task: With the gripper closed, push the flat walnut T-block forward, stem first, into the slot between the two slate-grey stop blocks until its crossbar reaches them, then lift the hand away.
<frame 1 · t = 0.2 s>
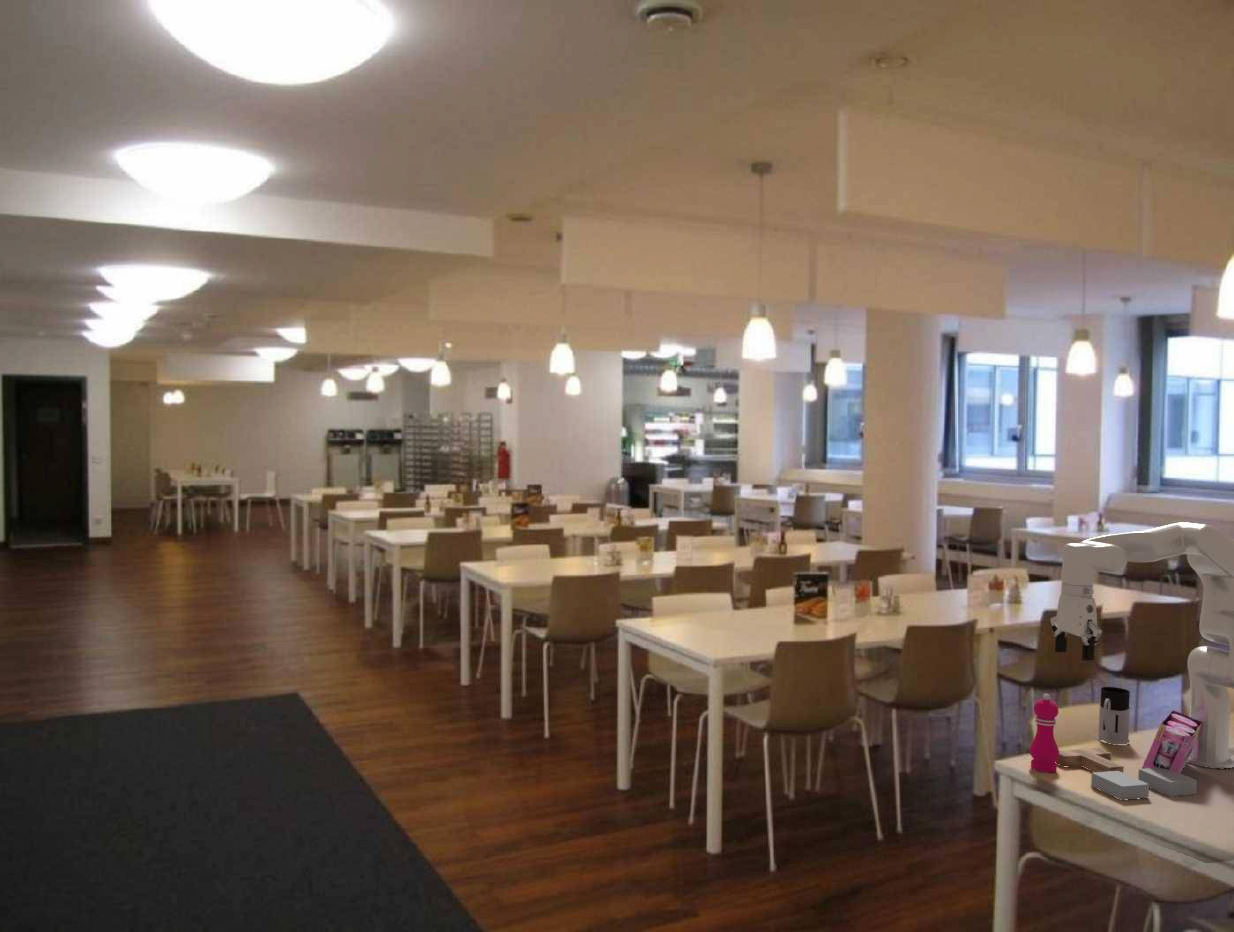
hand: (1073, 656, 258), 31 cm above the table, tool pointing down, fingers open, 9 cm apart
t block: (1087, 765, 264), on the table
white and black cylinder: (1110, 743, 285), on the table
gum box: (1163, 769, 262), on the table, touching arm, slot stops
pepper mill: (1043, 769, 260), on the table
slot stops: (1143, 790, 246), on the table
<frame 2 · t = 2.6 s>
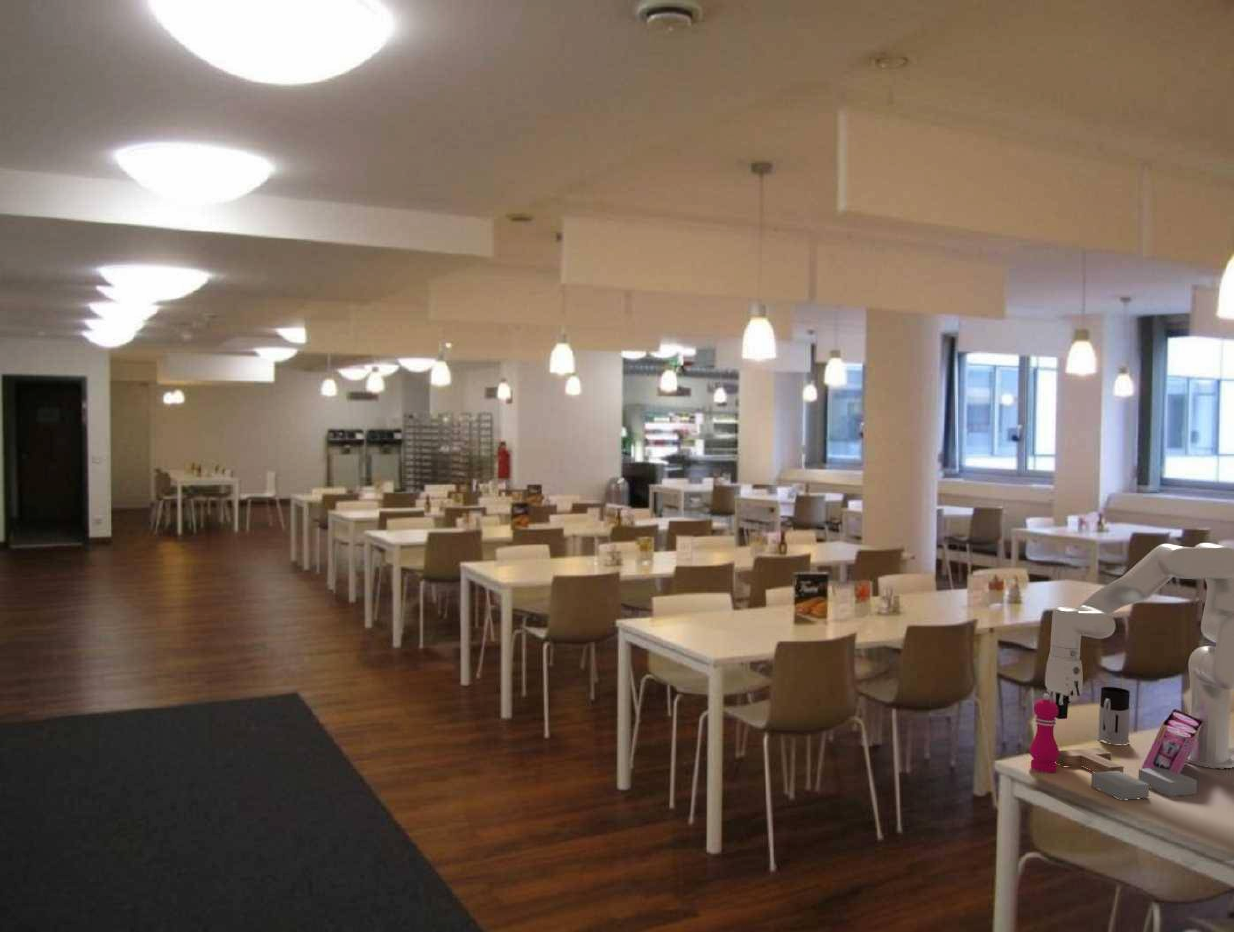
hand: (1060, 718, 273), 10 cm above the table, tool pointing down, fingers closed
nothing on the table moved.
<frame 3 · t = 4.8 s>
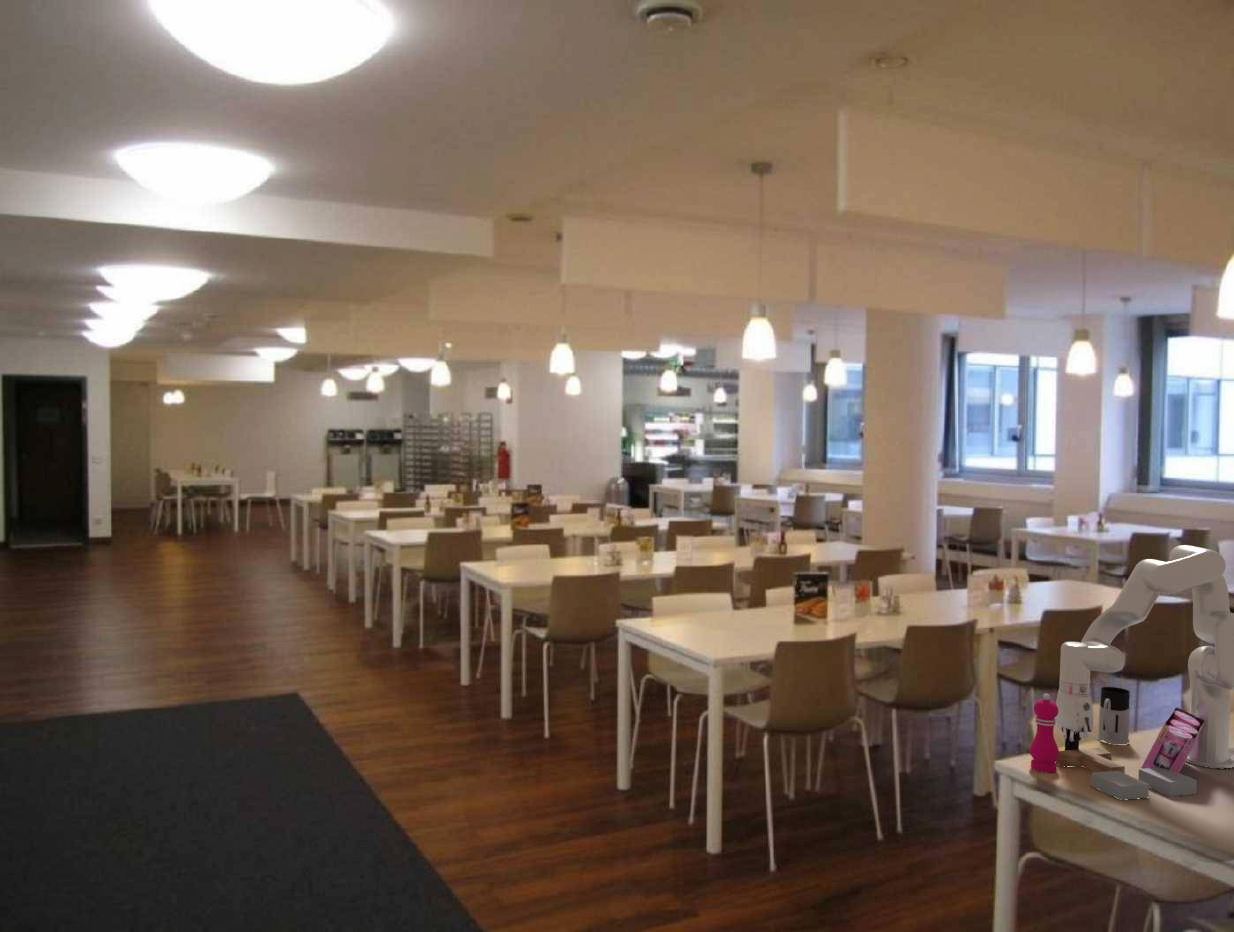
hand: (1071, 754, 270), 1 cm above the table, tool pointing down, fingers closed
t block: (1088, 766, 264), on the table, touching gripper
everything else where it was.
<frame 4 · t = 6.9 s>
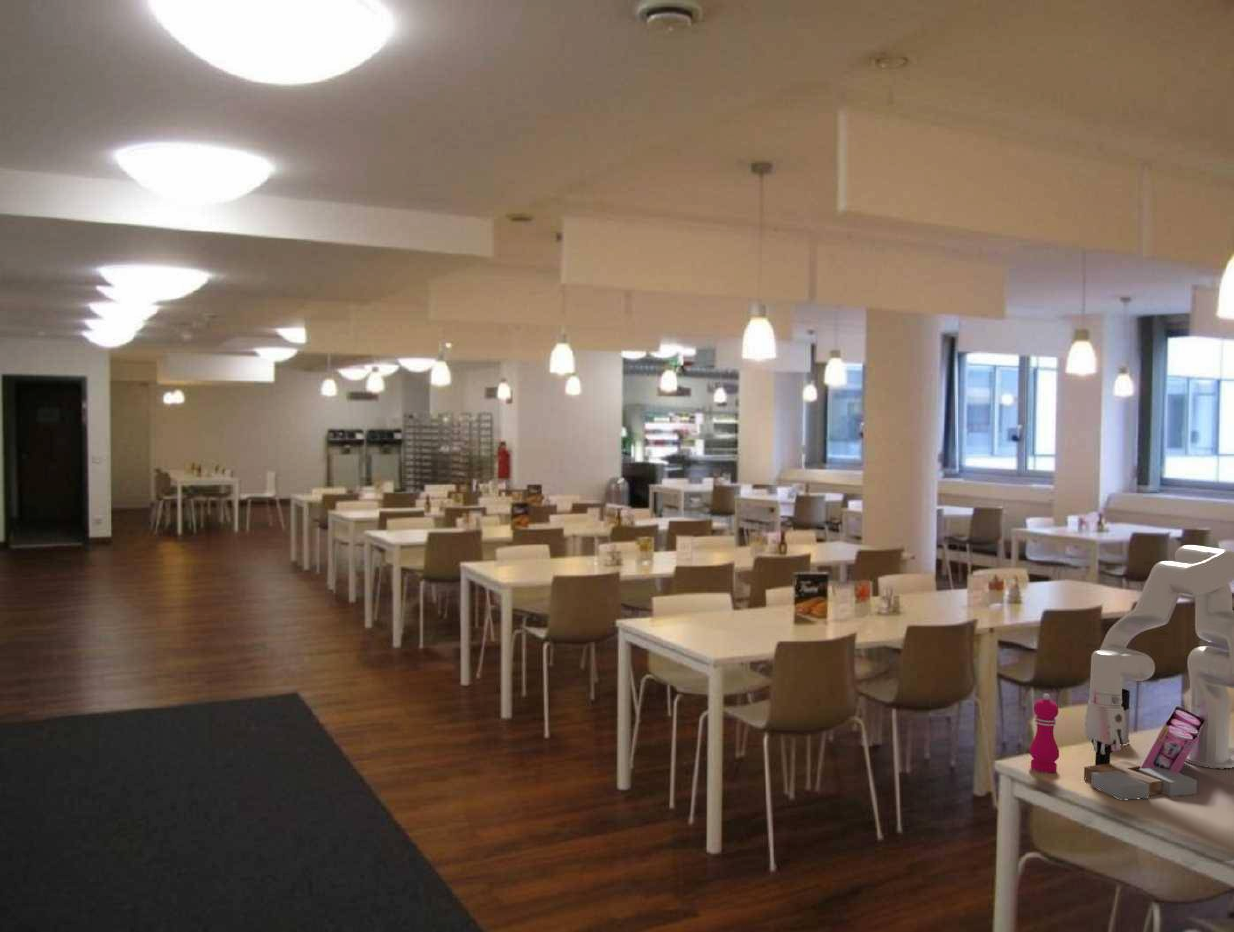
hand: (1102, 767, 259), 1 cm above the table, tool pointing down, fingers closed
t block: (1119, 780, 252), on the table, touching gripper
gum box: (1162, 766, 262), point 1 cm above the table, touching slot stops
everything else where it was.
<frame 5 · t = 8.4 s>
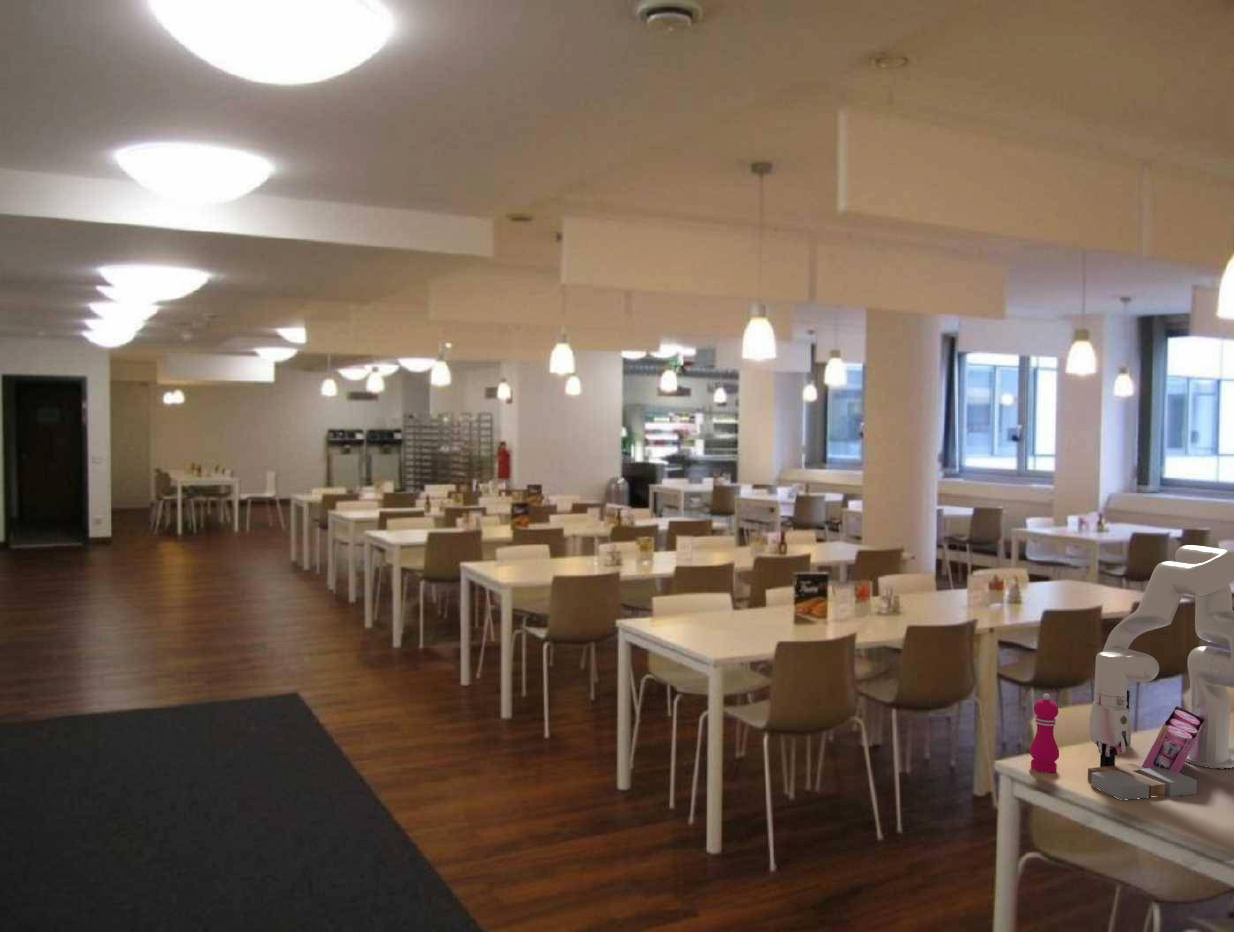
hand: (1107, 769, 257), 1 cm above the table, tool pointing down, fingers closed
t block: (1124, 783, 251), on the table
everything else where it was.
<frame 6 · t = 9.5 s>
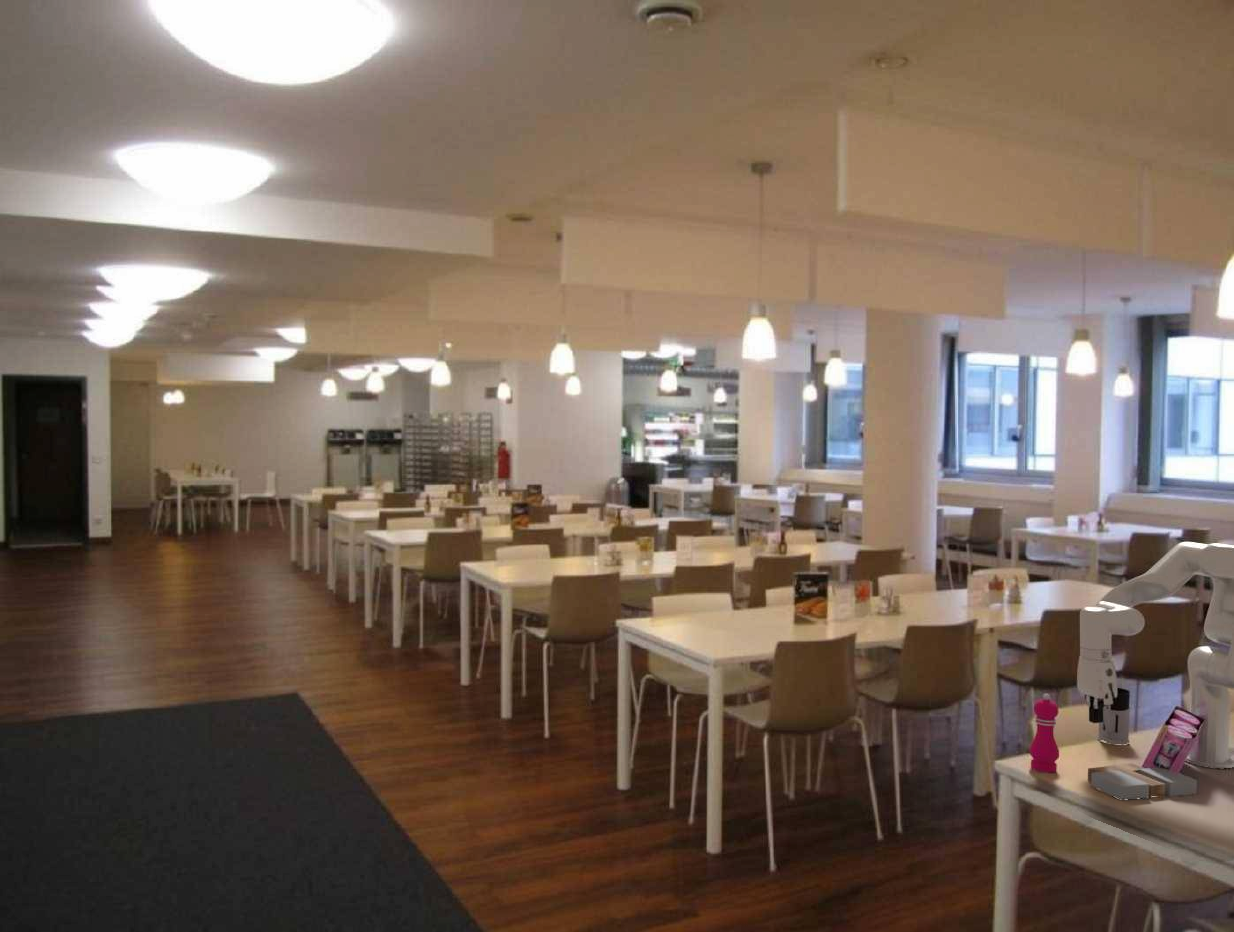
hand: (1096, 721, 263), 12 cm above the table, tool pointing down, fingers closed
nothing on the table moved.
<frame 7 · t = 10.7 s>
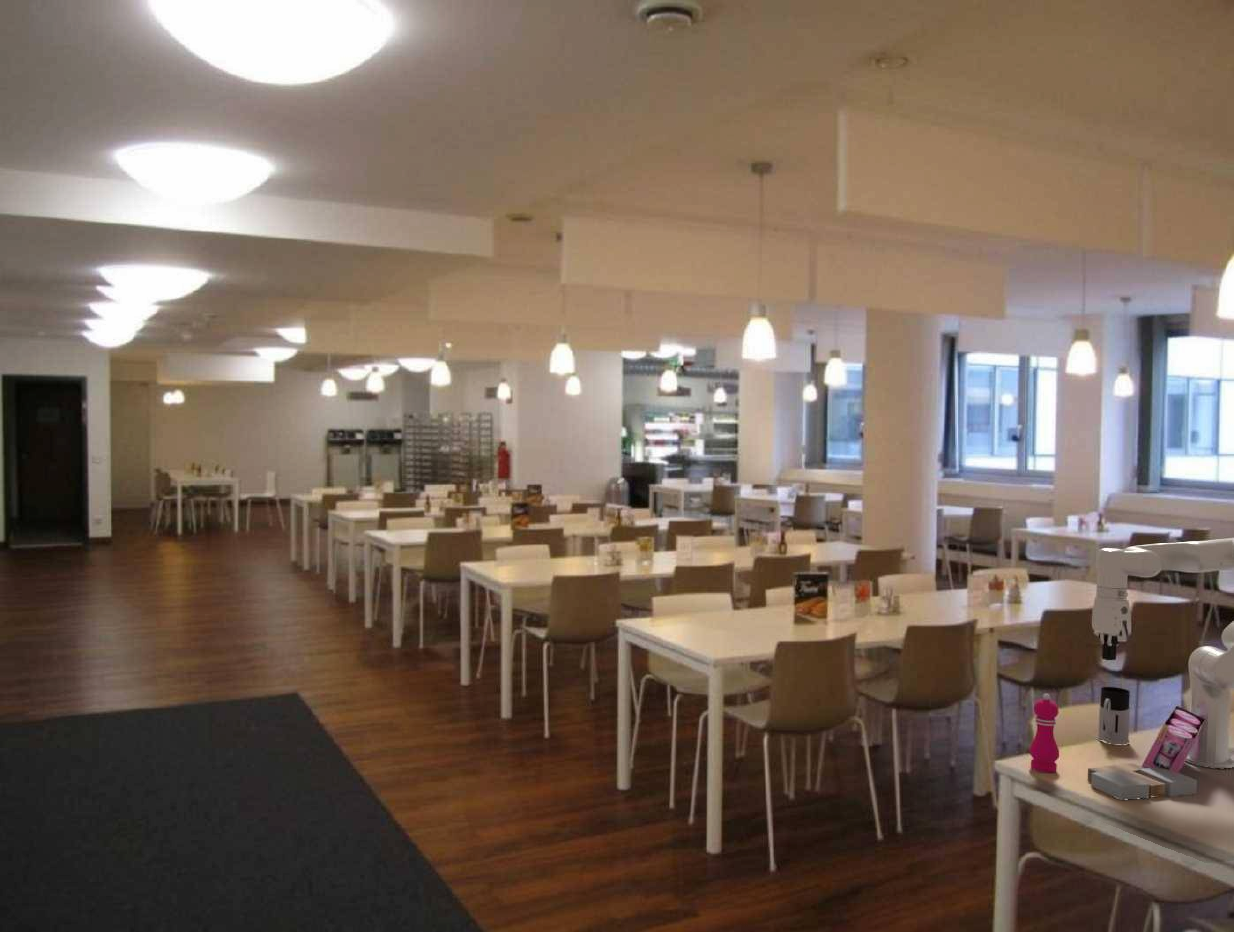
hand: (1109, 659, 272), 27 cm above the table, tool pointing down, fingers closed
nothing on the table moved.
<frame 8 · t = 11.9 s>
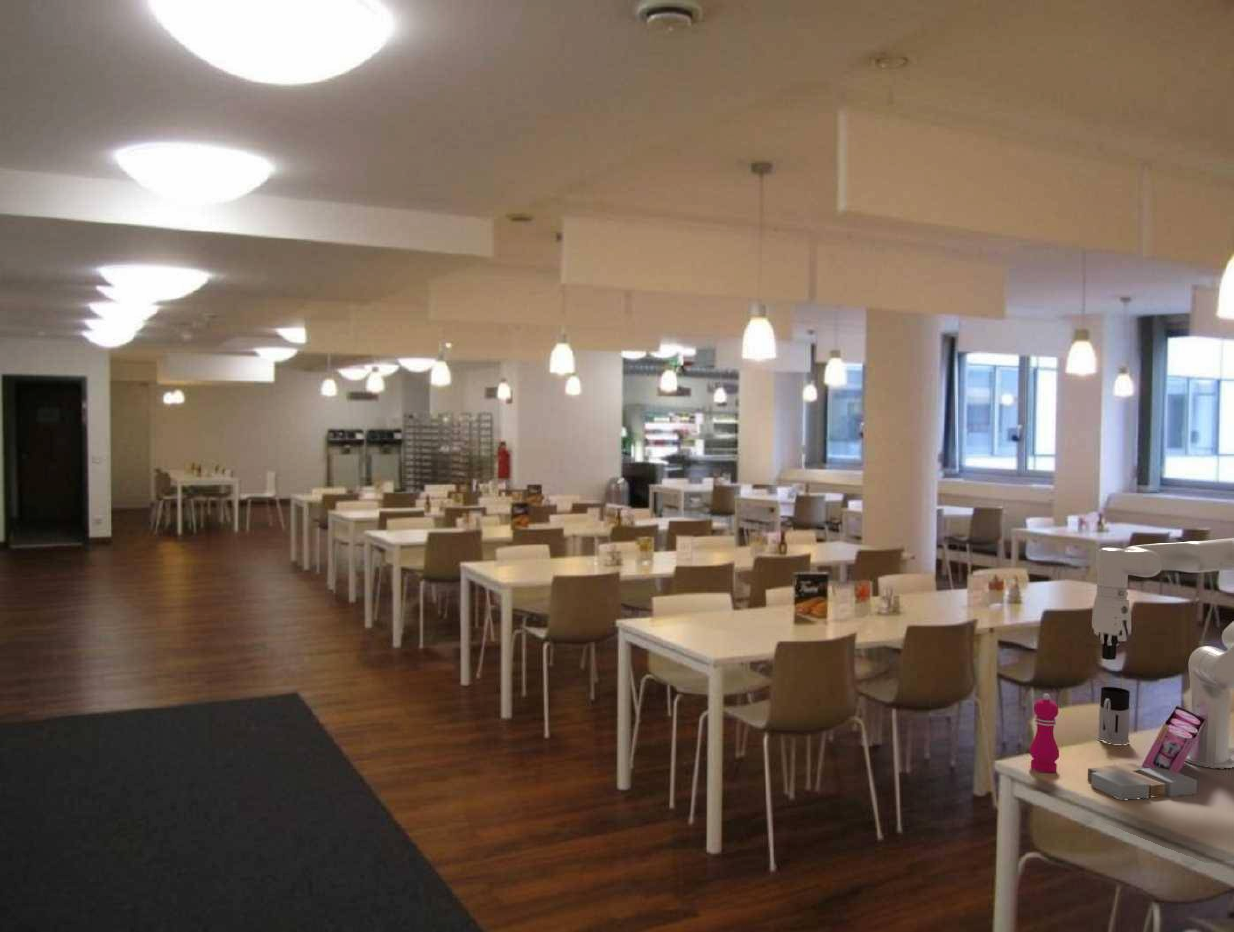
hand: (1108, 658, 272), 27 cm above the table, tool pointing down, fingers closed
gum box: (1162, 765, 262), point 1 cm above the table, touching arm, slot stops
everything else where it was.
at the end: t block 0.7 cm from the target spot on the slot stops, point 0.0 cm above the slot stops's base; t block tilted 0°; t block moved 13.5 cm from its start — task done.
